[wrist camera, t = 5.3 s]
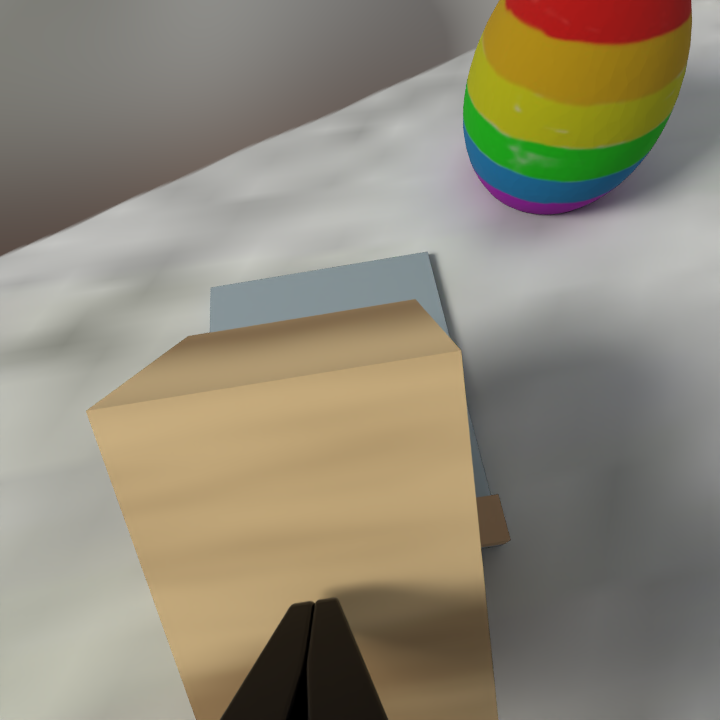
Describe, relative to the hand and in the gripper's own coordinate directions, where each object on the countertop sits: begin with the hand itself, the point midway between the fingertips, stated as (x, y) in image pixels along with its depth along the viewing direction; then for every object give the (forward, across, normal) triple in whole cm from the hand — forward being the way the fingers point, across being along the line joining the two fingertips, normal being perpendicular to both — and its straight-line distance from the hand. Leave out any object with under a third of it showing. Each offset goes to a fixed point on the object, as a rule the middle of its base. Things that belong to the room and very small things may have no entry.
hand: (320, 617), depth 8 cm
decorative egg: (+18, -11, -7) cm, 22 cm away
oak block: (+3, 0, +6) cm, 6 cm away
